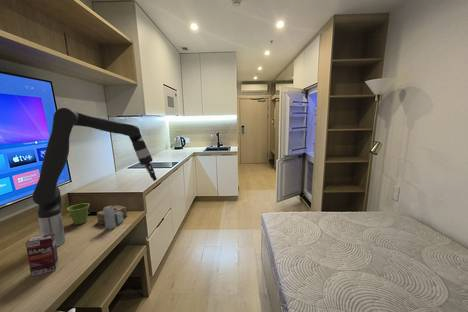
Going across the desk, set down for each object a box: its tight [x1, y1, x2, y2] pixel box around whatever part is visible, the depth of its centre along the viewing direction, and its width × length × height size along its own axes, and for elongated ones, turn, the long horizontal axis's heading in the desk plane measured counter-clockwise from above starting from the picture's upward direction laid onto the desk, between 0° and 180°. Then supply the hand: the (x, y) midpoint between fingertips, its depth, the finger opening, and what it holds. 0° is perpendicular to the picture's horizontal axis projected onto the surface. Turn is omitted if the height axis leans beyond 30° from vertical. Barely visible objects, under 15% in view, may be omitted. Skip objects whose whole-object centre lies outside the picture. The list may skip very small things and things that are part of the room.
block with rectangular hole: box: [96, 204, 128, 225], centre depth 139 cm, size 14×10×7 cm
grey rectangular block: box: [115, 211, 124, 225], centre depth 134 cm, size 4×4×7 cm
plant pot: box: [66, 202, 90, 226], centre depth 135 cm, size 12×12×11 cm
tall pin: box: [103, 205, 117, 231], centre depth 127 cm, size 4×4×14 cm
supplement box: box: [25, 233, 59, 277], centre depth 90 cm, size 9×5×16 cm, turn 118°
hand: (154, 178), depth 131 cm, fingers open, 8 cm apart
